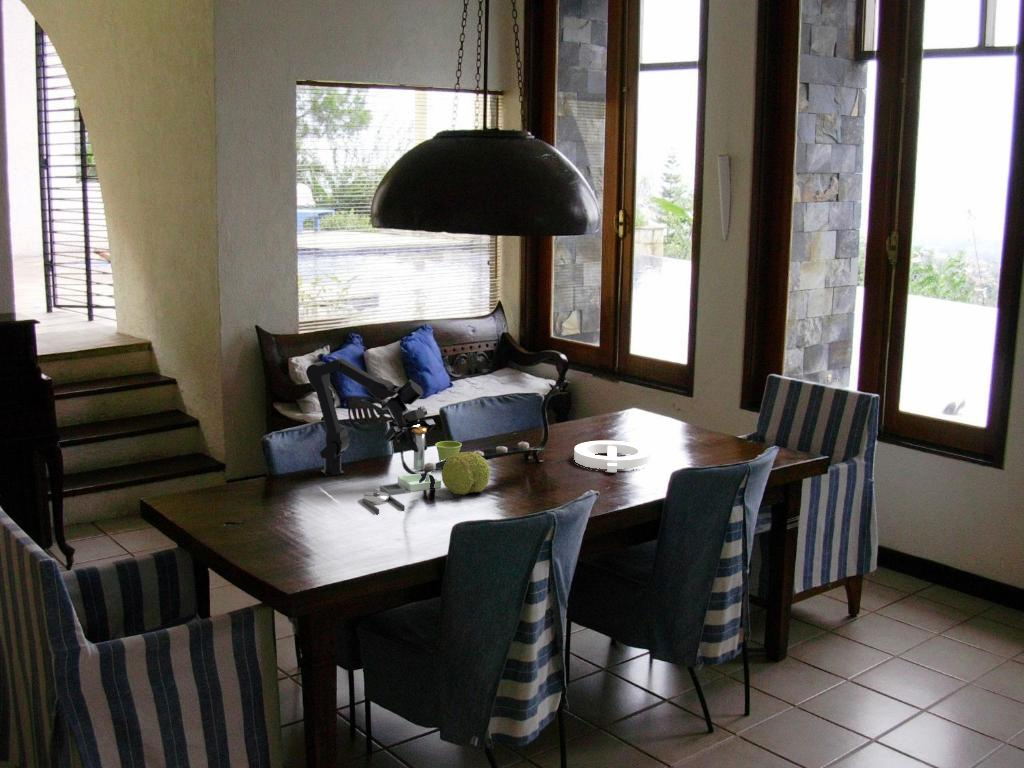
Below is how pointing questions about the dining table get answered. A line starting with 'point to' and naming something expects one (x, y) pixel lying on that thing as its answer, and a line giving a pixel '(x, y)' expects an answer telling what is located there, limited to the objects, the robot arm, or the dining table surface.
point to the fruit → (465, 473)
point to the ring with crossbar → (611, 455)
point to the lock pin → (419, 447)
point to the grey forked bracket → (379, 500)
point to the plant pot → (447, 449)
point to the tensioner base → (392, 489)
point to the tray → (417, 482)
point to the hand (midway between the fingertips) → (421, 450)
